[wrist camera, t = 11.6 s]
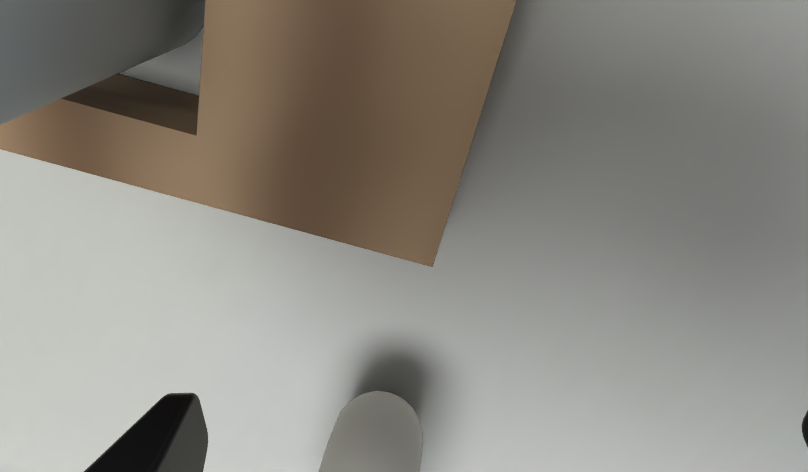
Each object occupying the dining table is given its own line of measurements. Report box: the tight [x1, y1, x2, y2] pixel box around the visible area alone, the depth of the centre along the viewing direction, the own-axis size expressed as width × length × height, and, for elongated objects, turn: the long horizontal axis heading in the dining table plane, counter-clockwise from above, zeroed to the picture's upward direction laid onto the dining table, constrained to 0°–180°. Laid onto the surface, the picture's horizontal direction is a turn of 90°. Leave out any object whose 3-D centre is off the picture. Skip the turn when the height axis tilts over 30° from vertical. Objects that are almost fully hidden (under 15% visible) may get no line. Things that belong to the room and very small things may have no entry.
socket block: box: [0, 0, 516, 267], centre depth 17 cm, size 16×11×3 cm
